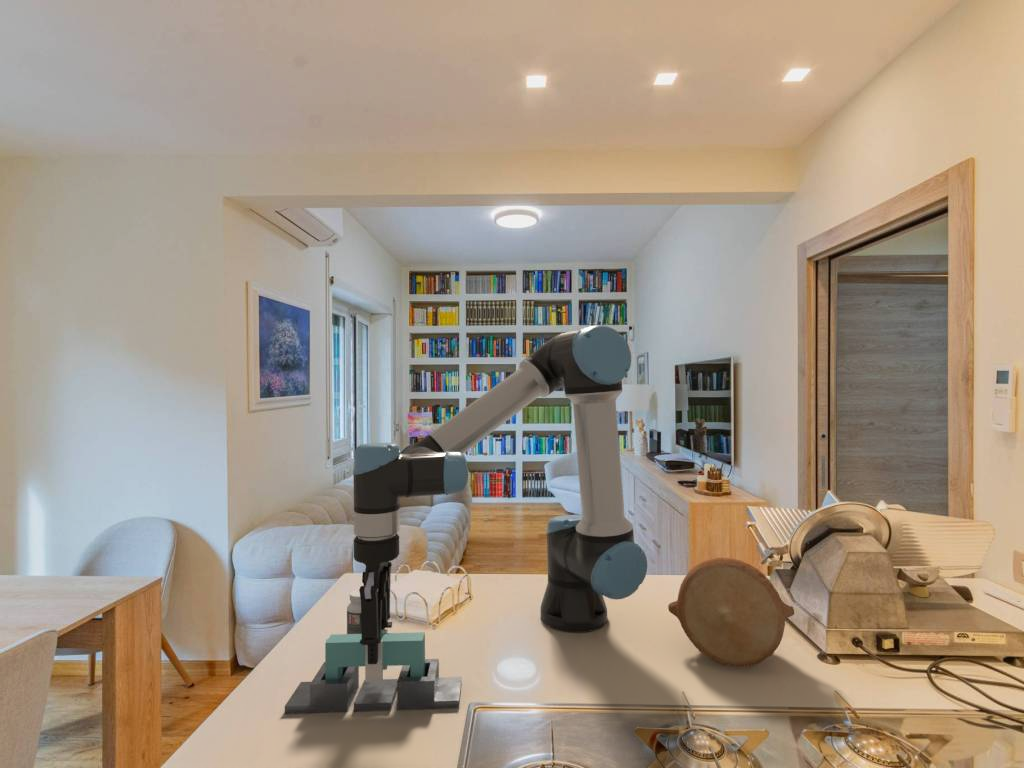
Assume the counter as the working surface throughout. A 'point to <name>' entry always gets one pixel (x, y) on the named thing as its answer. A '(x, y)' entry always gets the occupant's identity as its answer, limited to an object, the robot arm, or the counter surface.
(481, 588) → the counter surface
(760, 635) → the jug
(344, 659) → the clip
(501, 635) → the counter surface
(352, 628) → the pill bottle
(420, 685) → the rail
